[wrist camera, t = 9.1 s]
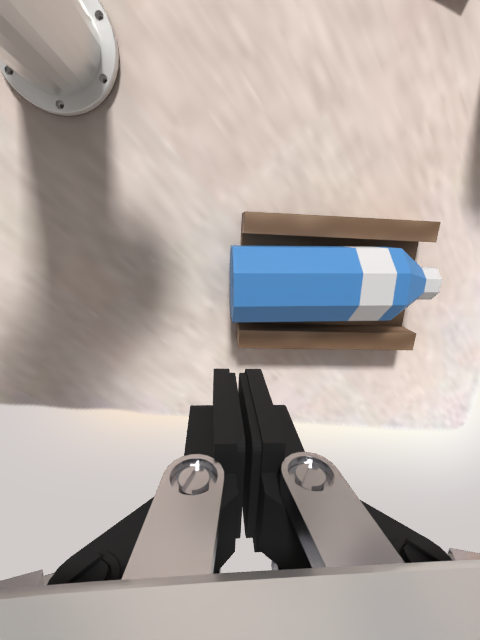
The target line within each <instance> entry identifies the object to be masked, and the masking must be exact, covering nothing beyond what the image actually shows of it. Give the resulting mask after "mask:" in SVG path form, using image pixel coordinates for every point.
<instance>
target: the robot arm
mask: <svg viewBox="0 0 480 640" xmlns="http://www.w3.org/2000/svg"><path fill="white" fill-rule="evenodd" d="M100 19H102V20H101V21H100ZM118 67H119V51H118V44H117V39H116V35H115V32H114V29H113V26H112V24H111V22H110V19H109V17H108V15H107V13H106V11H105V10H104V8H103V6H102V4H101V3H100V1H99V0H0V70H1V71H2V73H3V75H4V76H5V78H6V79H7V80H8V82H9V83H10V84H11V85H12V87H13V88H14V89H15V90H16V91H17V92H18V93H19V94H20V95H21V96H23V97H24V98H25V99H26V100H28V101H29V102H31V103H32V104H33V105H35V106H37V107H39V108H41V109H42V110H44V111H47V112H50V113H53V114H56V115H63V116H74V115H80V114H83V113H87V112H89V111H91V110H93V109H94V108H96V107H98V106H99V105H100V104H101V103H102V102H103V101H104V100H105V99H106V97H107V96H108V94H109V93H110V92H111V90H112V88H113V85H114V83H115V80H116V77H117V72H118ZM12 73H13V74H12ZM105 80H107V82H106V83H104V81H105ZM63 105H64V108H63V109H62V106H63ZM242 508H243V517H244V526H245V535H246V538H253V543H254V550H255V552H262V553H264V554H265V555H266V556H267V557H269V558H270V559H271V560H272V565H271V566H272V570H271V571H253V572H237V573H220V571H221V567H222V566H223V565H224V563H225V562H226V561H227V560H228V559H229V558H230V556H231V555H232V554H233V553H234V552H235V539H236V538H240V533H241V517H242ZM0 640H480V553H475V552H470V551H464V550H458V549H453V548H450V549H449V552H448V553H446V552H445V551H443V550H442V549H441V548H440V547H439V546H438V545H436V544H435V543H433V542H432V541H430V540H429V539H427V538H425V537H424V536H422V535H420V534H418V533H417V532H415V531H413V530H411V529H410V528H408V527H406V526H404V525H403V524H401V523H399V522H398V521H396V520H394V519H392V518H390V517H389V516H387V515H385V514H384V513H382V512H380V511H378V510H376V509H375V508H373V507H371V506H370V505H368V504H366V503H364V502H363V501H361V500H359V498H358V497H357V495H356V494H355V493H354V491H353V490H352V489H351V487H350V486H349V484H348V483H347V481H346V480H345V479H344V477H343V476H342V474H341V473H340V472H339V470H338V469H337V468H336V467H335V465H333V463H332V462H330V461H328V460H327V459H326V458H324V457H322V456H320V455H318V454H315V453H310V452H305V451H304V449H303V446H302V444H301V442H300V439H299V437H298V434H297V432H296V429H295V427H294V425H293V422H292V420H291V417H290V415H289V412H288V410H287V408H286V406H285V405H273V403H272V400H271V397H270V394H269V391H268V389H267V386H266V383H265V380H264V377H263V374H262V371H261V369H245V373H239V387H238V389H237V382H236V376H235V373H230V372H229V369H214V382H213V405H202V406H190V414H189V422H188V429H187V437H186V445H185V453H184V456H183V457H180V458H178V459H176V460H175V461H173V462H172V463H171V464H170V465H169V466H168V467H167V469H166V470H165V472H164V474H163V477H162V479H161V481H160V484H159V487H158V489H157V491H156V494H155V496H154V497H153V498H152V499H150V500H149V501H148V502H146V503H145V504H143V505H142V506H141V507H139V508H138V509H136V510H135V511H134V512H132V513H131V514H130V515H128V516H127V517H125V518H124V519H123V520H121V521H120V522H118V523H117V524H116V525H114V526H113V527H112V528H110V529H109V530H107V531H106V532H105V533H103V534H102V535H101V536H99V537H98V538H96V539H95V540H94V541H92V542H91V543H89V544H88V545H87V546H85V547H84V548H83V549H81V550H80V551H79V552H77V553H76V554H74V555H73V556H71V557H70V558H69V559H68V560H67V561H66V562H64V563H63V564H62V565H61V566H60V567H59V568H58V569H57V571H56V572H55V573H52V574H48V575H45V576H43V570H39V571H36V572H32V573H28V574H24V575H21V576H17V577H13V578H10V579H6V580H2V581H0Z"/></svg>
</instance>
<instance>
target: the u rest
mask: <svg viewBox="0 0 480 640" xmlns="http://www.w3.org/2000/svg"><path fill="white" fill-rule="evenodd" d="M439 226H440V222H430V221H412V220H393V219H375V218H356V217H338V216H319V215H301V214H282V213H264V212H244V213H242V228H241V246H351V247H393V248H402V249H403V250H404V251H405V252H406V253H407V254H408V255H409V256H410V257H411V258H412V259H413V260H414V261H415V257H416V252H417V247H418V242H419V241H420V242H436V240H437V236H438V231H439ZM404 311H405V309H404V310H403V311H402V312H400V313H399V314H398V315H397V316H395V317H394V318H393V319H392V320H386V321H305V322H237V337H236V338H237V342H238V347H239V348H286V349H360V350H413V346H414V341H415V337H416V333H414V332H412V331H410V330H408V329H406V328H404V327H402V321H403V316H404Z"/></svg>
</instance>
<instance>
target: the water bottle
mask: <svg viewBox="0 0 480 640" xmlns="http://www.w3.org/2000/svg"><path fill="white" fill-rule="evenodd" d="M441 281H442V278H441V276H440V274H439V272H438V269H437V268H432V267H420V266H419V265H418V264H417V263H416V262H415V261H414V260H413V259H412V258H411V257H410V256H409V255H408V254H407V253H406V252H405V251H404V250H403V249H402V248H393V247H351V246H231V251H230V312H231V319H232V322H305V321H386V320H392V319H393V318H394V317H395V316H397V315H398V314H399V313H400V312H402V311H403V310H404V309H405V308H407V307H408V306H409V305H410V304H412V303H413V302H414V301H415V300H416V299H432V298H433V297H434V296H436V295H437V294H438V293H439V291H440V286H441Z"/></svg>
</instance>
